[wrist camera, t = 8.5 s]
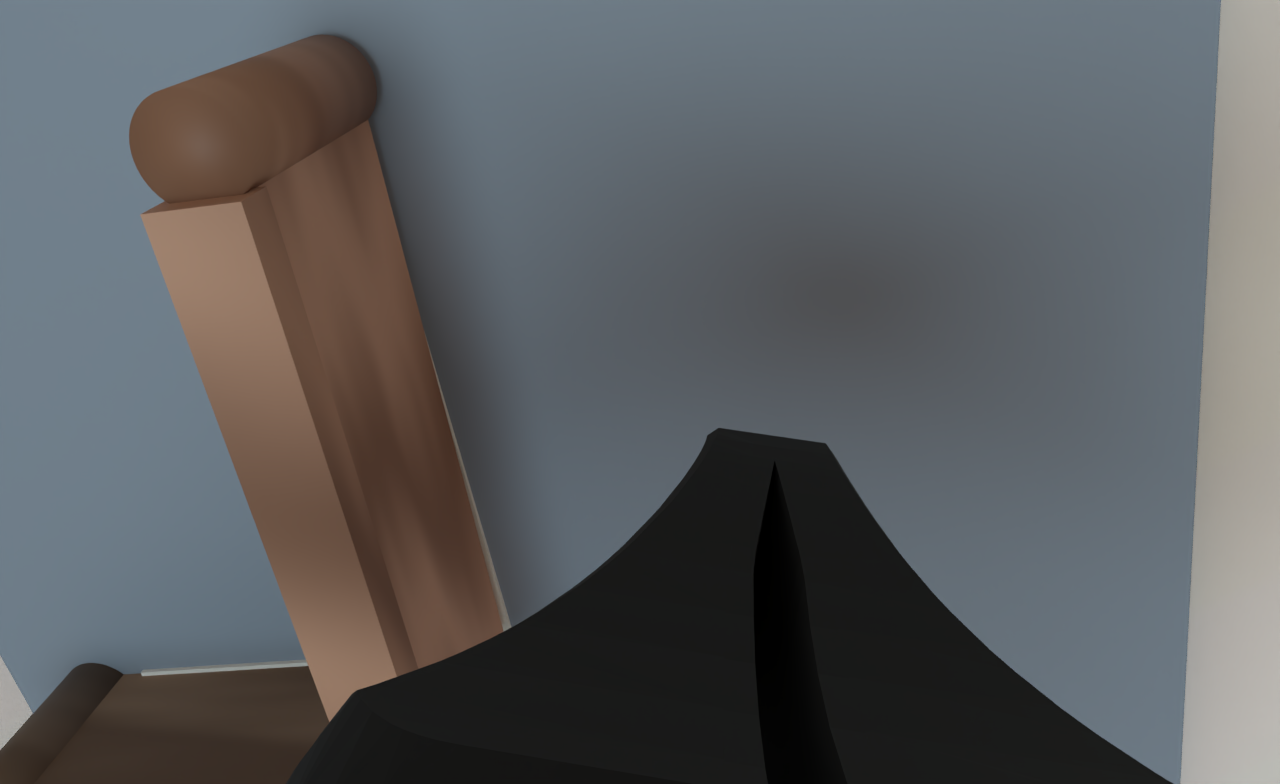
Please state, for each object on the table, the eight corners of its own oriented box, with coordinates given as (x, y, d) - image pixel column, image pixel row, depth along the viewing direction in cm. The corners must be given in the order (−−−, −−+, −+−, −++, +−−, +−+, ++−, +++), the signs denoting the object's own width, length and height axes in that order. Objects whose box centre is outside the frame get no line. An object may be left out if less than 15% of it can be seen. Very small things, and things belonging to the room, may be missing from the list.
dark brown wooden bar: (545, 698, 23) (485, 907, 18) (86, 722, 25) (-71, 914, 21) (527, 634, 22) (458, 836, 18) (55, 664, 24) (-115, 851, 20)
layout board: (1172, 800, 23) (1179, 819, 22) (115, 831, 28) (104, 846, 27) (1223, -271, 14) (1238, -276, 14) (-316, 56, 19) (-342, 60, 19)
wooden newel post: (517, 629, 22) (449, 820, 17) (444, 632, 22) (360, 820, 18) (361, 27, 17) (211, 86, 12) (270, 42, 17) (91, 104, 13)
